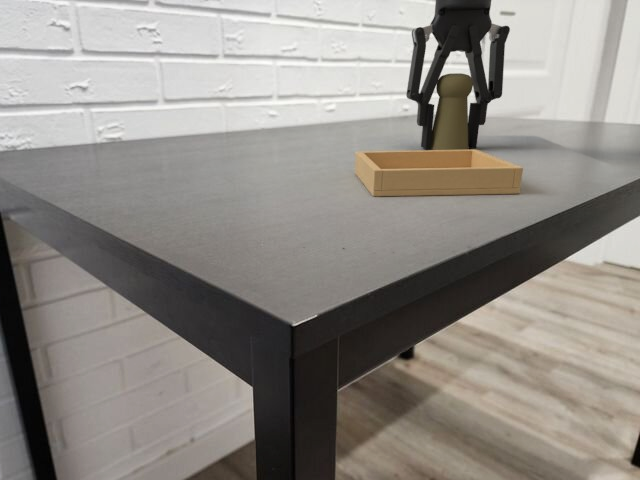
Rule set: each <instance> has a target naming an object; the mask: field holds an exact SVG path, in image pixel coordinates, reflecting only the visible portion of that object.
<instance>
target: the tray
mask: <svg viewBox="0 0 640 480" xmlns="http://www.w3.org/2000/svg"><path fill="white" fill-rule="evenodd" d="M354 159H355V162H354V174H355V175H356V176H357V178H358V179H359V180H360V182H361V183H362V184H363V185H364V186H365V188H366V189H367V190H368V192H369V193H370V194H371V196H372V197H409V196H410V197H417V196H419V197H421V196H469V195H471V196H472V195H474V196H475V195H517V194H518V195H519V194H520V191H521V184H522V180H523V179H522V178H523V172H524V167H522V166H519V165H517V164H514V163H512V162H509V161H507V160H504V159H502V158H499V157H497V156H494V155H491V154H489V153H486V152H484V151H481V150H479V149H477V148H470V149H468V150H430V149H423V150H418V149H417V150H416V149H415V150H375V151H373V150H371V151H368V150H367V151H355V158H354Z"/></svg>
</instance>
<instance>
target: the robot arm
mask: <svg viewBox="0 0 640 480" xmlns="http://www.w3.org/2000/svg"><path fill="white" fill-rule="evenodd" d="M434 5H435V6H434V16H433V18H432V20H431V22H430V24H428V25H425V26H422V27H421V26H419V27H415V28H413V29H412V30H411V39H412V44H413V49H412V55H411V61H410V69H409V76H408V80H407V81H408V82H407V88H406V95H405V96H406V98H407V99H408V100H411V101H414V102H415V103H416V104H417V112H416V113H417V114H416V124H417V126H419V127H422V130H421V140H420V142H421V143H420V147H421V148H423V150H430V149H431V138H432V129H433V124H434V115H435V104H433V103H430V101H431V99H432V96H433V94H434V91H435V89H436V86H437V82H438V80H439V78H440V77H441V74H442V72H443V70H444V66H445V65H446V62H447V59H448V58H449V57H450V54H451V53H455V52H461V53H464V55H465V58H466V59H467V63H468V68H469V73H470V77H471V78H472V81H473V87H472V89H473V93H474V98H475V102H470V103H469V104H470V105H469V109H468V149H469V148H470V149H477V147H478V138H479V137H478V136H479V129H480V126H484V125H485V123H486V121H487V120H486V119H487V114H488V113H487V112H488V105H489V104H490V103H491V101H493V100H496V99H500V98H502V96H503V88H504V87H503V86H504V66H505V51H506V50H505V49H506V42H507V40H508V37H509V34H510V31H511V29H510V28H511V27H510V26H509V25H503V26H502V25H498V24H495V23H493V21H492V19H491V15H490V11H491V6H492V0H435V4H434ZM431 34H432V36H433V37H434V39H435V41H436V42H437V47H436V49H435V51H434V55H433V59H432V62H431V64H430V67H429V68H428V72H427V75H426V76H425V79H424V82H423V83H422V87H421V82H422V81H421V80H422V76H423V75H422V74H423V69H424V63H425V55H426V51H427V49H426V48H427V42H428V41H429V40H430V38H431V37H430V36H431ZM487 34H488V40H489V41H490V44H489V58H488V59H489V60H488V81H487V77H486V72H485V67H484V61H483V56H482V55H483V51H482V45H481V42H482V40H483V39H484V38H485V37H486V35H487ZM487 82H488V83H487ZM420 87H421V89H420Z"/></svg>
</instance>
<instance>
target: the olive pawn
mask: <svg viewBox="0 0 640 480" xmlns="http://www.w3.org/2000/svg"><path fill="white" fill-rule="evenodd" d="M435 89H436V90H435V91H436V93H437V95H438V102H437V107H436V111H435V114H434V115H435V116H434V119H433V127H432V138H431V149H429V150H469V147H468V119H469V109H468V98H469V96H470V95H471V93H472V90H473V81H472V78H471V75H469V74H467V73H462V72H461V73H455V72H453V73H447V74H444V75H440V77H439V79H438V82H437V84H436V87H435Z"/></svg>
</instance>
